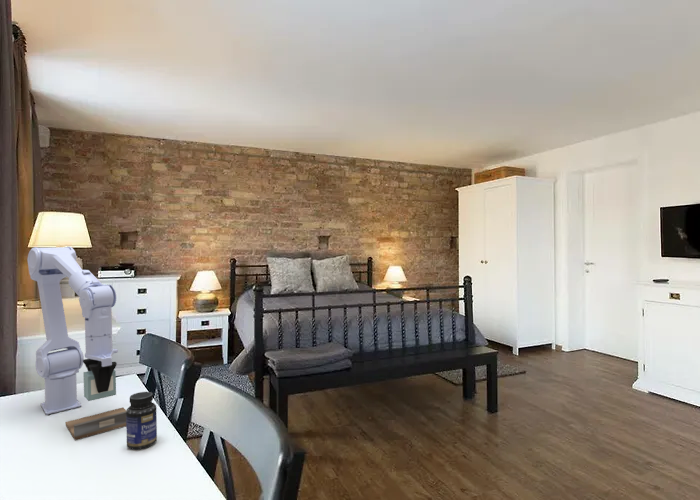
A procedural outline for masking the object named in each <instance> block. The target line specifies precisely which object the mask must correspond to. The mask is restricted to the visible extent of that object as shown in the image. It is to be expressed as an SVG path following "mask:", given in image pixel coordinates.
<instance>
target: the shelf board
mask: <svg viewBox="0 0 700 500" xmlns="http://www.w3.org/2000/svg"><path fill="white" fill-rule="evenodd" d="M126 411H127V409H126V408H124V407H118V408H115V409H112V410H108V411H104V412H99V413H97V414H96V413H95V414H92V415H88V416H84V417H79V418H76V419H73V420H68V421H65V427H66V428H67V430H68V432H69V433H70V435H71V436H72V437H73V439H74V441H78V440H82V439H86V438H89V437H91V436H95V435H96V436H97V435H100V434H102V433H106V432H109V431H113V430H117V429H120V428H124V427H126Z"/></svg>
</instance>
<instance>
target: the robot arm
mask: <svg viewBox="0 0 700 500" xmlns="http://www.w3.org/2000/svg"><path fill="white" fill-rule="evenodd" d="M27 266H28V274H29V276H30V280H33V281H35V282H37V287H38V293H39V301H40V307H41V312H42V318H43V319H42V320H43V324H44V325H43V326H44V332H45V339H46V341H45V342H43V344H42V345H40V346H39V348H37V350H36V351H35V370H36V373H37V375H38V376H39V377H40V378H41V379H42V378H43V379H44V402H41V403H40V407H41V408H42V410H43V412H44V414H45V415H51V414H55V413H59V412H64V411H68V410H72V409H77V408H79V407H82V404H81V402H80V401H79V400H78V393H77V392H78V391H77V390H78V389H77V373H79V371H80V369H81V368H82V367H83V365H84V366H85V368H86V370H87V372H88V371H92V373H93V375H94V378H95V383H96V388H97V391H98V393H101V392H106V391H108V389H109V385H110V380H111V376H112V373H113V371H114V370H115V369H116V367H117V364H118V362H116V361H113V355H114V354H117V353H119V349H117V348H113V319H112V317H113V316H112V315H113V312H112V308H113V307H115V306H116V303H117V292H116V290H115V287H114V286H113V284H106V283H102V282H101V281H100V280H99V279H98V278H97V277H96V276H95V275H94V274H93V273H92V272H91V271H90V270H89V269H83V268H81V266H80V264H79V263H78V262H77V253H76V250H75V249H74V248H73V247H72V246H65V247H63V246H62V247H60V246H59V247H57V246H56V247H36V246H35V247H32V248H31V249H30V250H29V252H28V254H27ZM64 278H68V281H67V282H68V286H69V287H70V288H71V289H72V290H73V292H74V293H76V295H77V296H78V301H79V306H80V308H81V315H82V317H83V318H84V340H85V341H84V342H85V344H84V345H85V353H83V350H82V348H81V345H80V341H77V340H75V339H73V338H71V337H69V334H68V333H69V332H68V327H67V326H68V325H67V322H66V314H65V309H64V303H63V297H62V291H61V284H60V282H61V281H62V280H63V279H64ZM57 350H58V351H57Z"/></svg>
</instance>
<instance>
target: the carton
mask: <svg viewBox="0 0 700 500" xmlns="http://www.w3.org/2000/svg"><path fill="white" fill-rule="evenodd" d="M116 372H117V371H116V370H115V369H114V371H113V373H112V376H111V380H110V385H109V389H108V391H106V392H101V393H98V391H97V388H96V383H95V378H94V375H93V373H92V371H88V370H87V371H83V373H82V374H83V397H84V398H85V399H86V401H88V402H92V401H96V400H100V399H104V398H109V397H113V396H117V379H116V376H117V375H116V374H117V373H116Z"/></svg>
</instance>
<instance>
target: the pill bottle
mask: <svg viewBox="0 0 700 500" xmlns="http://www.w3.org/2000/svg"><path fill="white" fill-rule="evenodd" d="M153 399H154V393H153V392H150V391H140V392H136V393H133V394H131V395H130V396H129V404H130V406H128V408H127V409H126V426H125V427H126V429H125V430H126V447H127V448H128V449H130V450H136V451H137V450H138V451H140V450H144V449H148V448H150V447H152V446H154V445H155V444H156V443H157V440H158V439H157V438H158V425H157V424H158V423H157V420H158V419H157V405H156V404H155V403H154V402H153Z"/></svg>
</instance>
